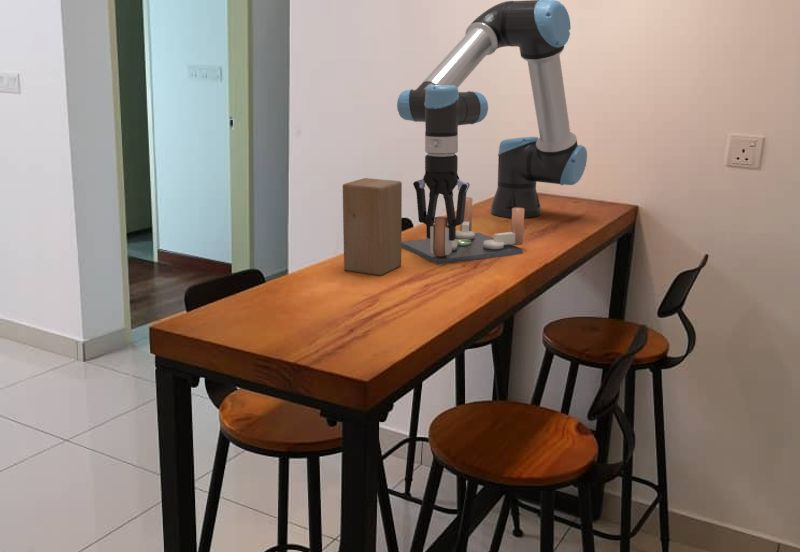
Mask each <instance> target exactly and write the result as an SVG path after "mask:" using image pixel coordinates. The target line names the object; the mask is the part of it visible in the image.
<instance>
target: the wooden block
mask: <svg viewBox="0 0 800 552" xmlns="http://www.w3.org/2000/svg"><path fill="white" fill-rule="evenodd" d="M402 186H403V185H402V181H400V180H392V179H391V180H390V179H379V178H369V177H365V178H360V179H357V180H353V181H350V182H345V183H343V184H342V218H343V220H342V224H343V227H342V229H343V231H342V233H343V269H344V271H346V272H347V271H348V272H355V273H361V274H369V275H375V276H384V275H385V274H387V273H390V272H391V271H393V270H395V269H397V268H400V267H401V266H402V247H401V242H402V231H403V229H402V224H403V223H402V213H403V210H402V202H403V201H402V200H403V199H402V195H403V194H402V193H403V191H402V190H403V189H402Z"/></svg>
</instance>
